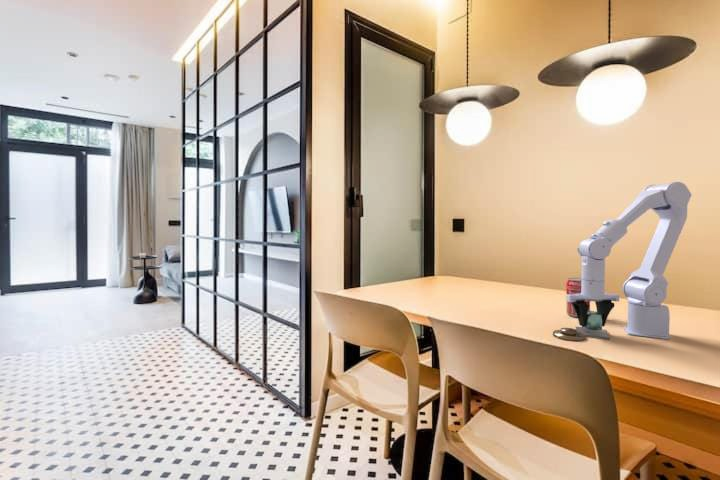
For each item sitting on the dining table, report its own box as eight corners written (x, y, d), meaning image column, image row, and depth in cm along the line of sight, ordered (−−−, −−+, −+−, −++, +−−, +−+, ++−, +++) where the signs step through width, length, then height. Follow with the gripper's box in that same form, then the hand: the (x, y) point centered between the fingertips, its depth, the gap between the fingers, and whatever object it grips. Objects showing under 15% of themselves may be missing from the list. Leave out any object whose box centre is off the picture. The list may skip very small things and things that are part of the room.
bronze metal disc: (584, 334, 107) (584, 327, 107) (585, 342, 100) (585, 335, 100) (553, 330, 111) (553, 324, 111) (552, 338, 104) (552, 331, 104)
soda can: (593, 319, 123) (594, 280, 123) (570, 318, 125) (570, 280, 124) (585, 313, 130) (585, 277, 130) (563, 312, 132) (563, 277, 131)
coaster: (606, 331, 109) (606, 329, 109) (609, 339, 102) (609, 337, 102) (575, 328, 113) (575, 326, 113) (576, 335, 106) (576, 333, 106)
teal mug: (607, 331, 104) (608, 315, 104) (590, 331, 104) (590, 315, 104) (593, 324, 111) (593, 309, 111) (576, 324, 111) (577, 310, 111)
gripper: (608, 277, 111) (607, 321, 112) (560, 278, 111) (559, 322, 112) (625, 281, 104) (623, 328, 105) (574, 281, 104) (573, 329, 105)
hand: (591, 325), depth 108 cm, fingers closed on teal mug, 5 cm apart
